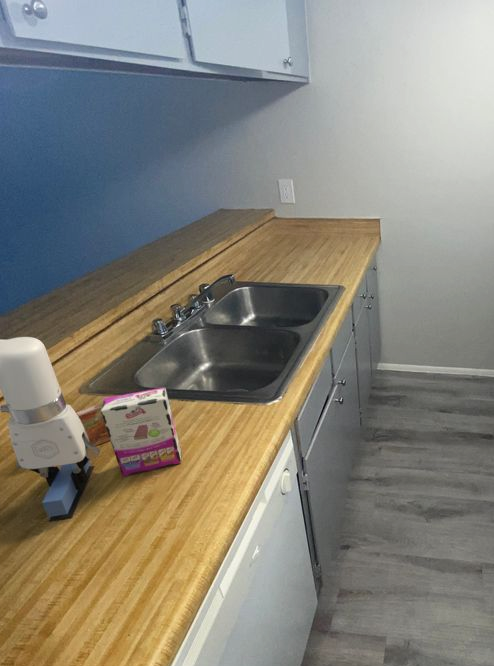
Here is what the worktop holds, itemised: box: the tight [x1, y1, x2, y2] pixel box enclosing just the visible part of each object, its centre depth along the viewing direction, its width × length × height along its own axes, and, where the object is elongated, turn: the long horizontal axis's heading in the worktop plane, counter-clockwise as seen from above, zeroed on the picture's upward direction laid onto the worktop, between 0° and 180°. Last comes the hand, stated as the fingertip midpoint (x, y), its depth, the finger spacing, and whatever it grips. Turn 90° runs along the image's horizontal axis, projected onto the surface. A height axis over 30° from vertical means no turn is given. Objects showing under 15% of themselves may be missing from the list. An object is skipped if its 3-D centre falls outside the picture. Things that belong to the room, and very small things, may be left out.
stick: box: [41, 461, 92, 518], centre depth 89 cm, size 3×14×4 cm, turn 15°
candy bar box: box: [101, 386, 182, 477], centre depth 95 cm, size 11×5×16 cm, turn 114°
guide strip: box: [48, 465, 95, 522], centre depth 91 cm, size 4×14×1 cm, turn 15°
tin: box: [76, 402, 111, 447], centre depth 102 cm, size 15×3×8 cm, turn 137°
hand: (70, 485), depth 90 cm, fingers closed on stick, 3 cm apart
